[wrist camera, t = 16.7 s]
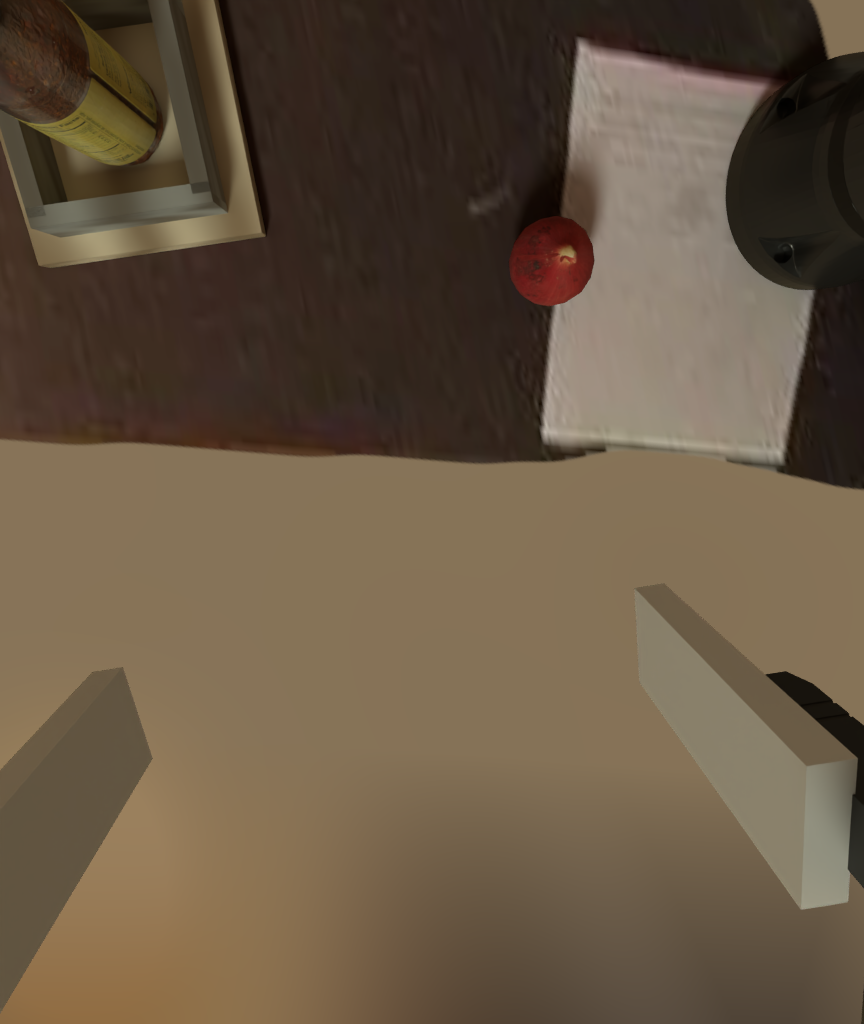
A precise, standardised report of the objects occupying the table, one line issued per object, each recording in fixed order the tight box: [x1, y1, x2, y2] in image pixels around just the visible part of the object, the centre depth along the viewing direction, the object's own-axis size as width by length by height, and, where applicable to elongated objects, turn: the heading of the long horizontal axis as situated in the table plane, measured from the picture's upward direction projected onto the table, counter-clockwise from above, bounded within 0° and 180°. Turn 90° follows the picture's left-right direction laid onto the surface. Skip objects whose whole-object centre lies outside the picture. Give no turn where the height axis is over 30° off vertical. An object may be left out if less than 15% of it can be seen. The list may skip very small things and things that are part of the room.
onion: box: [509, 216, 594, 306], centre depth 41 cm, size 6×6×8 cm
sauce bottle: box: [0, 0, 163, 167], centre depth 30 cm, size 7×6×20 cm
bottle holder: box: [0, 0, 266, 268], centre depth 39 cm, size 16×16×5 cm
